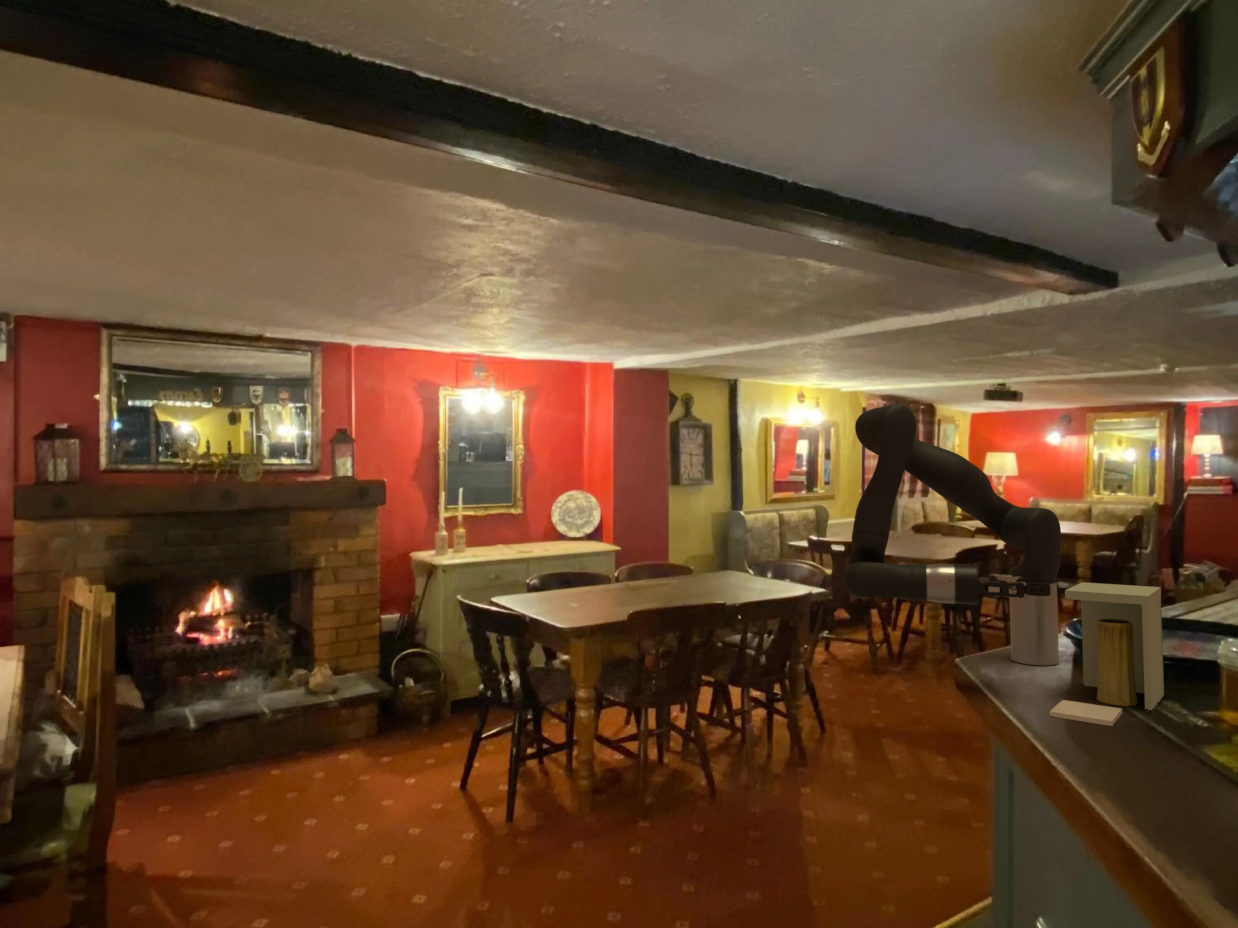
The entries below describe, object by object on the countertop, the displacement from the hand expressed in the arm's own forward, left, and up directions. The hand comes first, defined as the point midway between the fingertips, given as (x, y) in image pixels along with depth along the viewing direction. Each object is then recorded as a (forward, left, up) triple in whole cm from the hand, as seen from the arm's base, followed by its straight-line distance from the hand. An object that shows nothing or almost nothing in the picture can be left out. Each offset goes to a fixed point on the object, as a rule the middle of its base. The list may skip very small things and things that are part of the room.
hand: (1047, 586), depth 149 cm
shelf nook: (-5, +10, -20) cm, 22 cm away
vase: (-1, +10, -20) cm, 22 cm away
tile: (+11, +8, -20) cm, 24 cm away
